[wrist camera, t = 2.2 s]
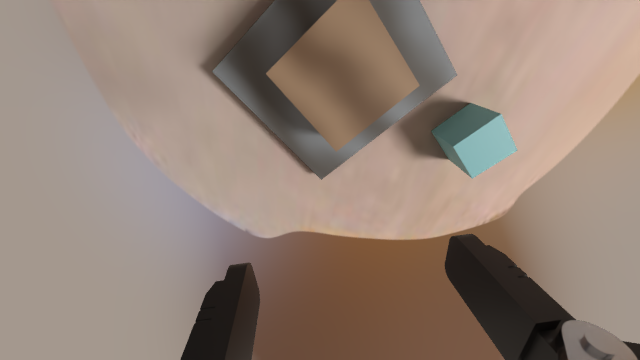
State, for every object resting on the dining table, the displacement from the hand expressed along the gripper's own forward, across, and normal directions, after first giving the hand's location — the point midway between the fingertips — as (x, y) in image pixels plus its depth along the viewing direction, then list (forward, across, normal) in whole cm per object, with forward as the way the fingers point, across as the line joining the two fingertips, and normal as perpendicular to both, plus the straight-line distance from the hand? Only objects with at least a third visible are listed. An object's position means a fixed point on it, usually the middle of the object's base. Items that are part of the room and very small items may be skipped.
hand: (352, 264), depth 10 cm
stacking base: (+20, -3, -6) cm, 21 cm away
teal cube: (+20, -17, +2) cm, 26 cm away
